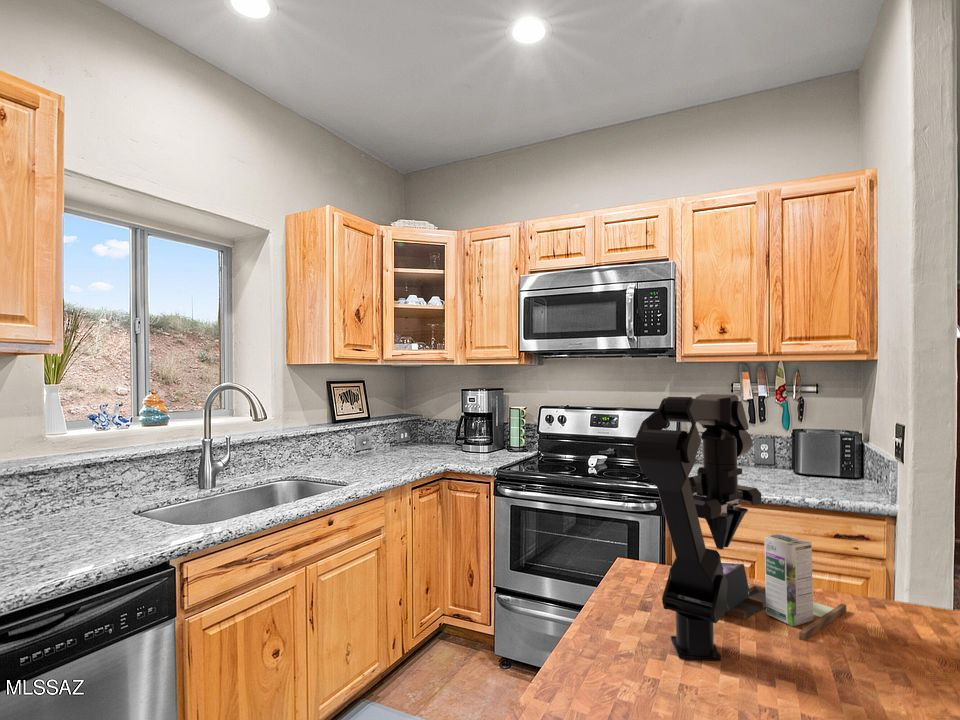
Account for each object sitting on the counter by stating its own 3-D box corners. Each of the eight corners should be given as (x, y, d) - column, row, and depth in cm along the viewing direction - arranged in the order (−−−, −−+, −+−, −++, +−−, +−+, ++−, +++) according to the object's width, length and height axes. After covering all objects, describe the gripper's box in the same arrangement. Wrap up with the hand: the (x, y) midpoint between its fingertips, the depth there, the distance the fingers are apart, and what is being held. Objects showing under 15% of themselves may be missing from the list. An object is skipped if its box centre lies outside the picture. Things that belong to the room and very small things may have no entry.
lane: (804, 640, 91) (804, 633, 92) (714, 608, 104) (714, 602, 104) (846, 611, 102) (846, 604, 102) (760, 585, 115) (759, 579, 115)
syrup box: (764, 614, 101) (762, 536, 102) (786, 608, 104) (784, 532, 104) (792, 627, 96) (790, 544, 97) (815, 621, 99) (812, 540, 99)
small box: (693, 558, 114) (745, 562, 106) (699, 591, 113) (751, 597, 105) (669, 570, 106) (723, 575, 99) (675, 605, 105) (729, 613, 98)
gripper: (706, 452, 112) (708, 529, 112) (652, 462, 101) (654, 547, 101) (761, 459, 104) (764, 541, 103) (708, 470, 92) (710, 563, 92)
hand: (722, 547), depth 100 cm, fingers closed
